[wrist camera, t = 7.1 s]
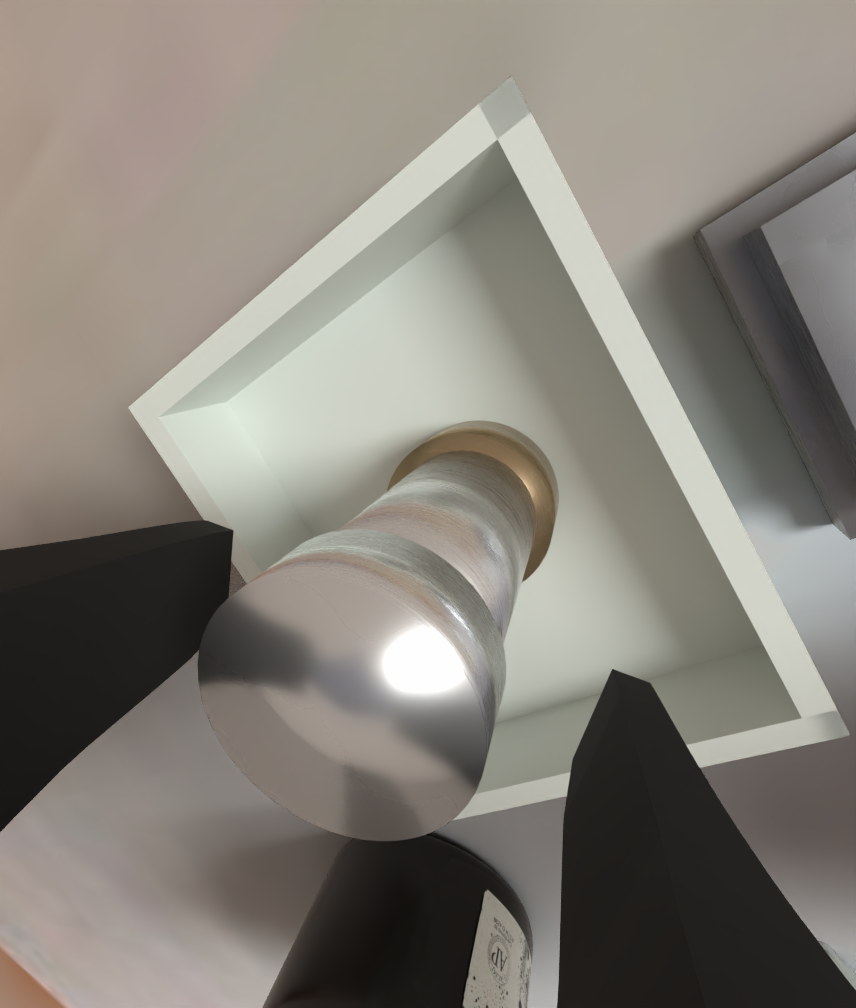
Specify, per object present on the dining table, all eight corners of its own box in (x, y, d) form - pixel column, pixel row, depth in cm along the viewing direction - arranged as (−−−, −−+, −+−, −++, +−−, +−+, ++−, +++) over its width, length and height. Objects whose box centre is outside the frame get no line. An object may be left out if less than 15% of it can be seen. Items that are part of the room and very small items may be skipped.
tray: (796, 645, 15) (850, 735, 12) (442, 746, 20) (411, 829, 16) (533, 135, 13) (511, 75, 10) (212, 391, 18) (128, 407, 14)
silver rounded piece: (585, 455, 14) (564, 663, 6) (523, 588, 16) (435, 904, 7) (435, 397, 15) (209, 499, 6) (391, 530, 17) (168, 754, 8)
